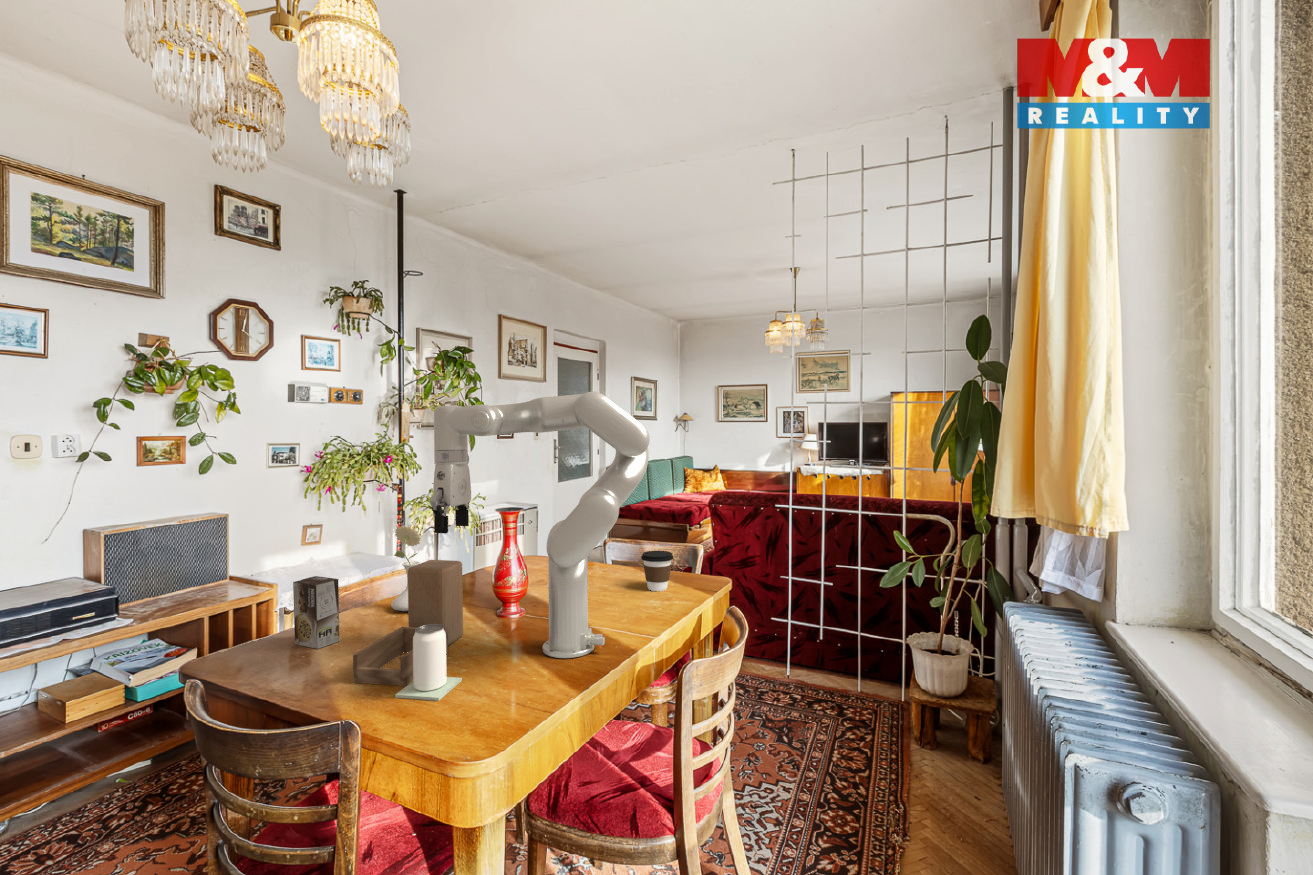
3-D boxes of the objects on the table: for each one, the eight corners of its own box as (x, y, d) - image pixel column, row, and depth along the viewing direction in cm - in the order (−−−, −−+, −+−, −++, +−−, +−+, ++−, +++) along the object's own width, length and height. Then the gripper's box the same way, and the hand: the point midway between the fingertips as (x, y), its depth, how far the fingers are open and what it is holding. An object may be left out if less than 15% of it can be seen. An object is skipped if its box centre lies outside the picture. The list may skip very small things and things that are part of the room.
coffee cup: (638, 592, 193) (638, 556, 193) (644, 584, 204) (644, 549, 204) (671, 594, 192) (671, 557, 191) (675, 585, 202) (675, 550, 202)
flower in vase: (439, 606, 180) (438, 525, 180) (406, 616, 170) (405, 530, 170) (413, 600, 187) (412, 521, 187) (379, 609, 177) (378, 526, 177)
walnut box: (448, 653, 142) (447, 628, 142) (404, 685, 125) (404, 657, 124) (402, 650, 144) (402, 626, 144) (353, 682, 126) (352, 654, 126)
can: (414, 694, 119) (413, 635, 119) (412, 682, 125) (411, 625, 125) (448, 688, 122) (447, 630, 122) (445, 676, 128) (444, 621, 127)
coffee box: (340, 641, 151) (339, 578, 151) (317, 649, 145) (316, 584, 145) (317, 636, 155) (316, 575, 155) (293, 644, 149) (292, 580, 149)
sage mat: (461, 680, 127) (461, 677, 127) (438, 700, 118) (438, 697, 118) (421, 677, 129) (421, 675, 129) (395, 697, 119) (395, 694, 119)
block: (443, 650, 144) (442, 569, 144) (407, 647, 146) (405, 567, 146) (464, 636, 154) (463, 560, 154) (430, 633, 156) (429, 558, 156)
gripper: (447, 459, 131) (448, 536, 131) (482, 455, 148) (483, 523, 148) (416, 459, 132) (417, 535, 133) (454, 455, 149) (455, 523, 150)
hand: (452, 529), depth 140 cm, fingers open, 9 cm apart
